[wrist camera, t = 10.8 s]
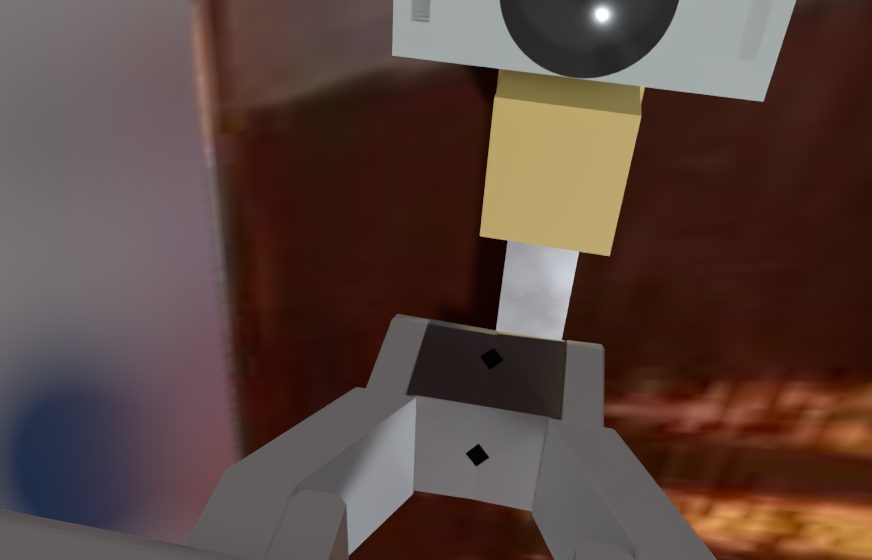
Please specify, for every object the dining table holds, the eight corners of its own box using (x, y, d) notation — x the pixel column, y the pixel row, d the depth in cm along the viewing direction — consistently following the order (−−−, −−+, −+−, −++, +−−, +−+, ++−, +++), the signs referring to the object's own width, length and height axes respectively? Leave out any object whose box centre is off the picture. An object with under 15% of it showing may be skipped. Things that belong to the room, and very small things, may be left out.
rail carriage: (620, 168, 31) (619, 257, 25) (495, 151, 31) (469, 234, 26) (646, 46, 28) (653, 117, 22) (509, 29, 28) (483, 95, 23)
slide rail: (564, 405, 41) (559, 462, 38) (472, 389, 41) (460, 443, 38) (656, -22, 28) (660, 8, 25) (521, -36, 29) (508, -9, 25)
